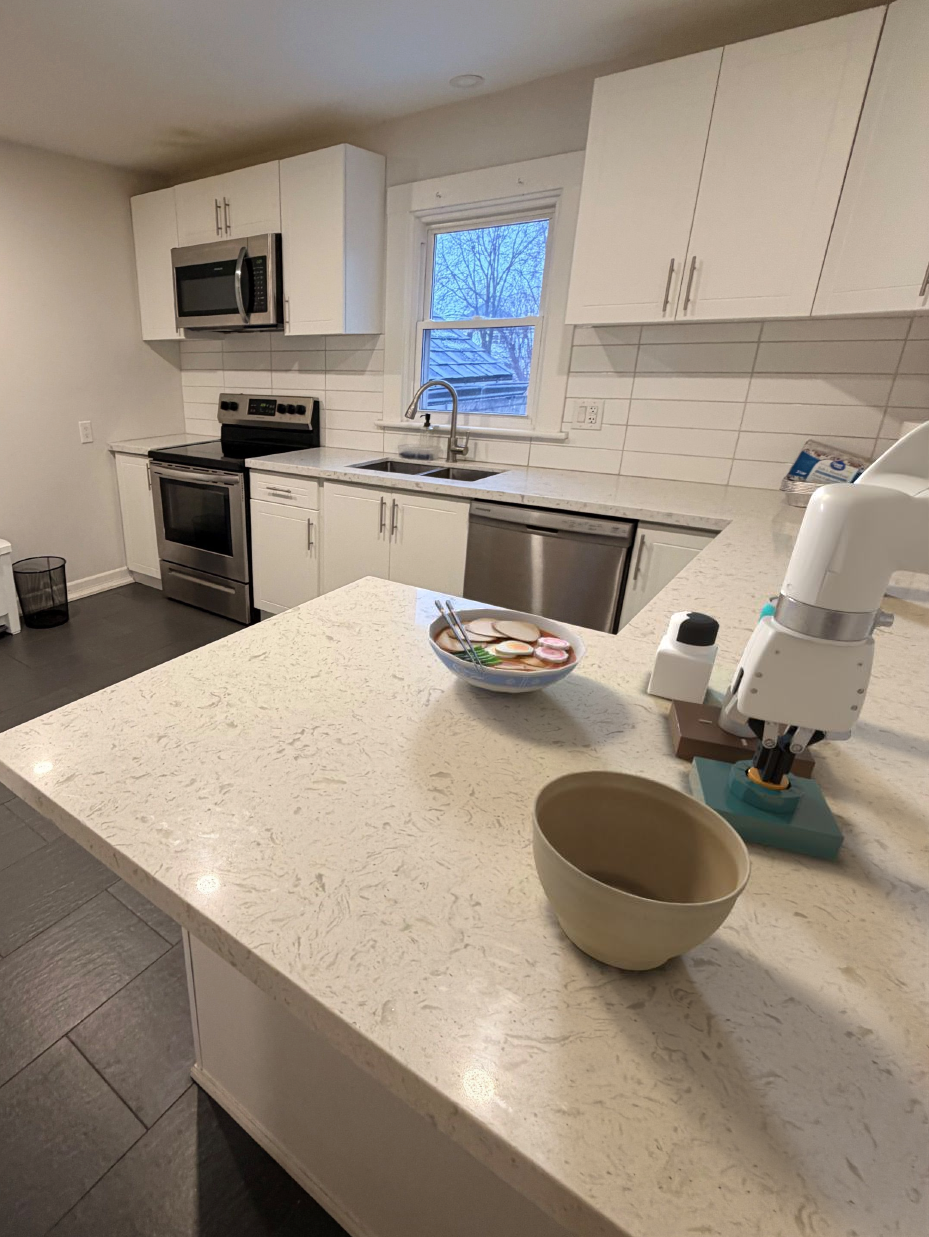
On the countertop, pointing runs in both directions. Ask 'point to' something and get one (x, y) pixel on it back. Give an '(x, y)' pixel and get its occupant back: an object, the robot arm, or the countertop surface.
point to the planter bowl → (634, 865)
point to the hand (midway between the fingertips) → (767, 775)
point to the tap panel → (719, 738)
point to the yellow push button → (756, 779)
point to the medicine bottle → (685, 658)
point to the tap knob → (731, 725)
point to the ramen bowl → (504, 648)
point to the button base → (768, 808)
